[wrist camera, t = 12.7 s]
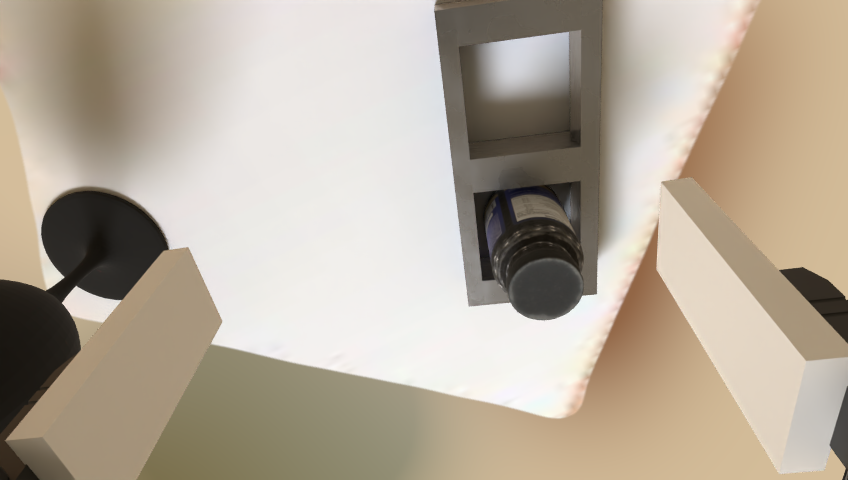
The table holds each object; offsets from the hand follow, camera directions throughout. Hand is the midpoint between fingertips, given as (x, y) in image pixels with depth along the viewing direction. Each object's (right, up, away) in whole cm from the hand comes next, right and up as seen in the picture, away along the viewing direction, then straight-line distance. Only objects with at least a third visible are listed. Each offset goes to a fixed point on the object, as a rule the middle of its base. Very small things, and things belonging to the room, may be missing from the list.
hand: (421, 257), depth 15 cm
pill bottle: (+8, +3, +28) cm, 29 cm away
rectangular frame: (+7, +7, +26) cm, 27 cm away
